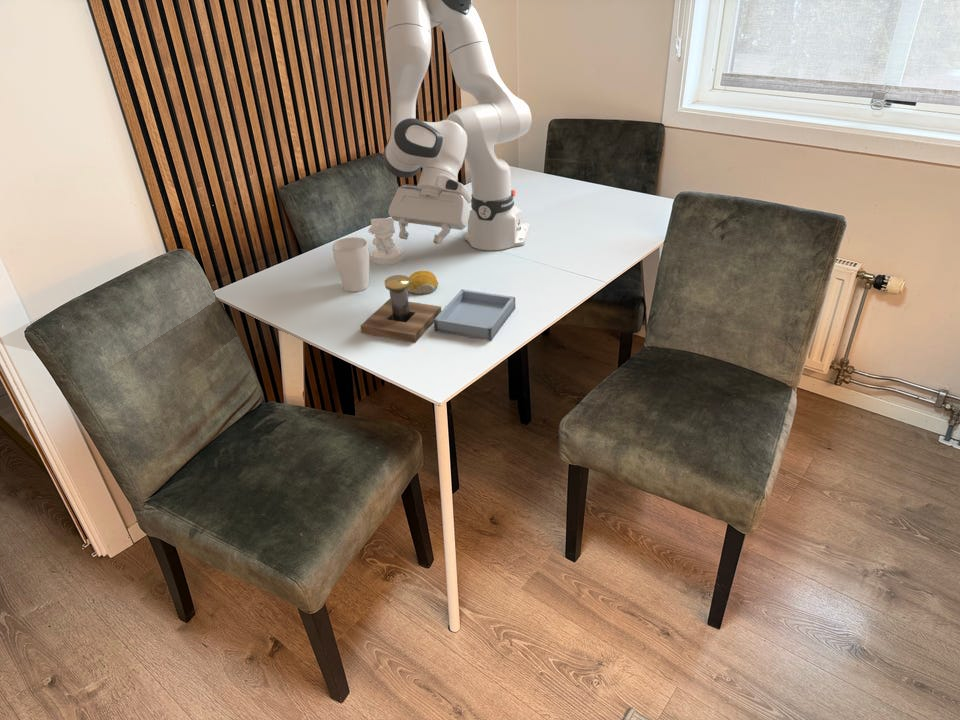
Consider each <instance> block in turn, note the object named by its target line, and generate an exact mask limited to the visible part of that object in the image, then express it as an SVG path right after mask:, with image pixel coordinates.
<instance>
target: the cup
mask: <svg viewBox="0 0 960 720" xmlns="http://www.w3.org/2000/svg"><path fill="white" fill-rule="evenodd" d="M331 247H332V255H333V260H334V263H335V265H336V269H337V272H338V275H339V277H340V280H341V281H340V282H341V284H342V286H343V290H345V291H347V292H351V293H353V292H354V293H356V292H362V291H364V290H366V289H367V288H368V287H370V251H369V248H368V241H367V240H366V239H365V238H363V237H355V236H353V237H345V238H340V239H338V240H336V241H335V242H333V244H332V246H331Z"/></svg>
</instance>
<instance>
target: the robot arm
mask: <svg viewBox="0 0 960 720" xmlns="http://www.w3.org/2000/svg"><path fill="white" fill-rule="evenodd" d="M437 26H438V27H439V28H440V29H441V31H442V32H443V37H444V43H445V48H446V52H447V55H448V59H449V64H450V65H451V66H450V68H451V70H452V73H453V77H454V81H455V83H456V85H457V87H458V88H459V89H460V90H462V91H463V92H467V93H468V94H470V95H472V97H473V98H474V99H475V100H476V101H477V103H478V104H472V105H468V106H463V107H462V108H459V109H458V110H455V111H453V112H452V113H449V115H448V116H447V118H446V119H443V120H440V121H435V122H434V121H431V122H430V121H423V120H420V119H418V118H417V117H416V116H417V115H416V114H417V113H416V112H417V111H416V110H417V107H416V106H417V100H418V99H417V98H418V94H419V92H420V88H421V85H422V83H423V80H424V78H425V76H426V73H427V71H428V69H429V67H430V66H429V65H430V61H431V54H432V47H433V46H432V42H433V41H432V29H433V28H435V27H437ZM384 35H385V36H384V37H385V53H386V61H387V69H388V80H389V88H390V89H389V91H390V122H389V123H390V124H389V125H390V130H389V132H390V133H389V138H388V141H387V143H386V144H385V147H384V148H383V149H384V150H383V153H382V158H383V159H382V160H383V164H384V166H385V167H386V169H387V170H388V171H389V172H390V174H392V175H394V176H396V177H399V178H403V179H409V178H412V177H415V176H416V175H417V174H418V173H419V172H420V171H421V172H420V176H419V179H418V183H417V184H406V183H405V184H403V185H400V186H399V187H397V189H396V192H395V193H394V194H395V195H394V196H393V198H392V200H391V203H390V204H389V205H390V206H389V208H388V210H387V211H388V215H389V218H392V219H393V220H394V222H398V227H399V230H400V231H399V233H398V238H400V239H401V240H408V237H409V235H410V234H409V232H408V231H407V230H406V229H407V228H406V227H408V225H409V224H413V225H414V224H416V225H420V226H429V227H437V228H441V230H440V232H439V233H438V234H434V238H433V240H432V242H433V243H434V244H435V245H442V243H443V240H444V239H445V238H446V237H447V236H448V235H449V234H450V232H451V230H459V231H463V230H464V229H465V228H466V227H467V232H466V233H465V234H464V235H463V240H465V241H467V242H468V243H469V245H470V246H471V247H473V248H474V249H479V250H482V251H500V250H501V251H503V250H507V249H510V248H513V247H520V246H524V245H525V244H526V240H527V237H528V235H529V232H528V231H530V228H531V226H530V223H528V222H525V221H523V211H522V210H521V209H520V208H519V207H518V206H516V205H515V198H514V197H516V195H517V194H516V190H517V189H512V173H511V167H510V165H509V164H508V163H507V161H506V160H504V159H502V158H500V157H497V155H496V153H495V145H500V144H503V143H508V142H512V141H515V140H516V139H519V138H521V137H522V136H524V135H527V133H528V132H529V131H530V129H531V125H532V122H533V121H532V112H531V109H530V107H529V105H528V104H527V103H526V101H524V100H523V99H522V98H519V97H517V96H516V95H515V94H514V93H513V92H512V91H510V89H509V88H508V87H507V86H506V84H505V83H504V81H503V80H502V79H501V77H500V75H499V72H498V69H497V66H496V64H495V60H494V57H493V54H492V50H491V47H490V44H489V40H488V36H487V33H486V30H485V28H484V25H483V22H482V19H481V17H480V15H479V13H478V11H477V10H476V8H475V7H474V6H473V0H388V2H387V6H386V15H385V34H384ZM464 160H465V161H466V163H467V165H468V168H469V172H470V180H471V181H470V182H471V192H472V193H470V191H469V190H468V189H467V187H465V185H464V184H462V183H461V182H459V180H458V179H459V178H458V175H459V173H460V172H459V171H460V170H461V169H462V168H463V164H464ZM421 168H422V169H421ZM527 234H528V235H527Z"/></svg>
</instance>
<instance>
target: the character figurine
mask: <svg viewBox="0 0 960 720" xmlns="http://www.w3.org/2000/svg"><path fill="white" fill-rule="evenodd" d="M367 231H368V233H370V234H371V235H374V237H375V238H372V244H373V246H376V248H375V249H374V250H372V251H371V260H372V262H373V263H375V264H377V265H385V266H386V265H387V266H388V265H393V264H396V263H397V264H398V263H399V262H401V261H403V259H404V253H403V249H402V248H401V247H399V246H395V245H396V243H395V242H394V240H393V238H392V237H393V236H394V234H395V233H396V229H395V220H393V219H392V218H391V217H384V218H381V217H380V218H371V219H370V227H369V228H368V230H367Z"/></svg>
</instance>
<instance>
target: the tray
mask: <svg viewBox="0 0 960 720" xmlns="http://www.w3.org/2000/svg"><path fill="white" fill-rule="evenodd" d="M515 309H516V296H510V295H504V294H496V293H489V292H483V291H482V292H481V291H475V290H469V289H461V290H460V291H458V293H457V294H456V295H455V296H454V297H453V298H452V299H451V300H450V301H449V302H448V303H447V304H446V306H444V308H443V309H441V312H440V314H439V315H438V316H437V317H436V318H435V319H434V323H433V324H434V325H433V326H434V332H436V333H437V332H439V333H444V334H450V335H455V336H456V335H457V336H462V337H468V338H474V339H479V340H486V341H492V340H493V339H494V338H495V336H496V335H497V334H498V333H499V331H500V330H501V328H503V326H504V325H505V323H506V321H507V320H508V319H509V317H510V316H511V315H512V313H514V311H515Z"/></svg>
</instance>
